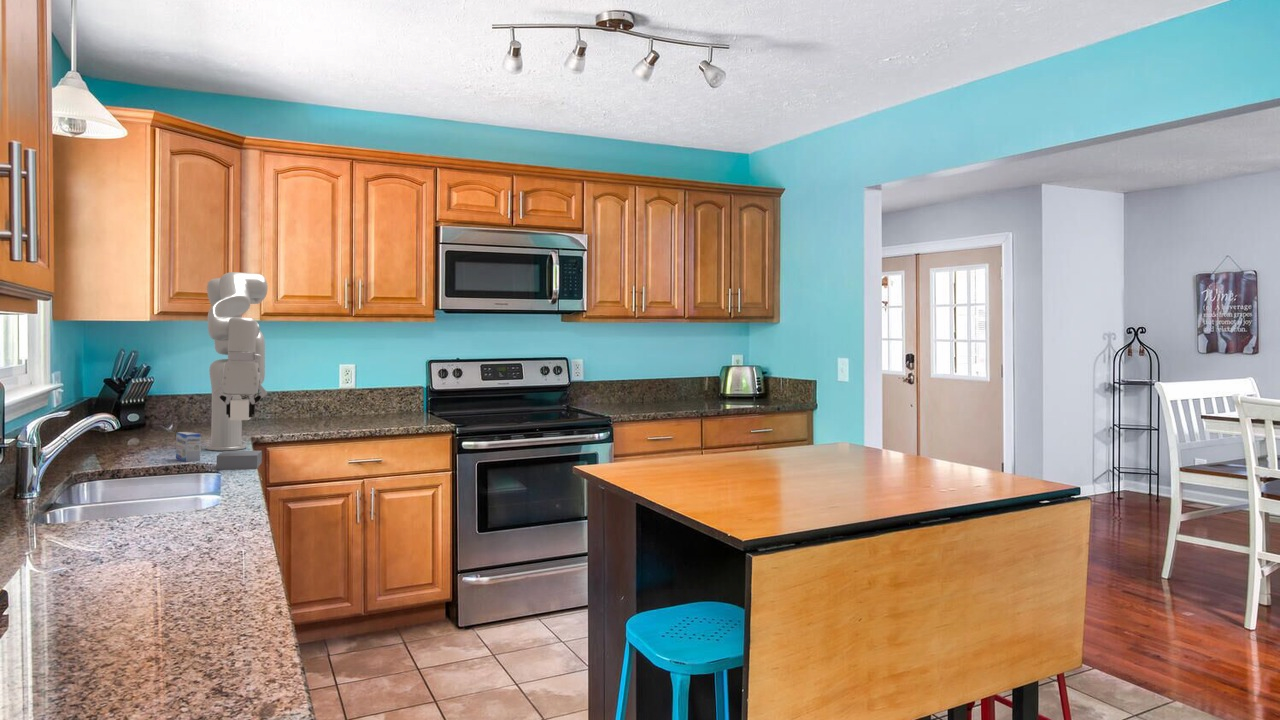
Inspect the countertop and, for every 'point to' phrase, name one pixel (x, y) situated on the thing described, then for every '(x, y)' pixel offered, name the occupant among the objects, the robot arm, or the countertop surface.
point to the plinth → (239, 460)
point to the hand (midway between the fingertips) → (240, 416)
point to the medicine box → (188, 446)
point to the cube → (239, 409)
